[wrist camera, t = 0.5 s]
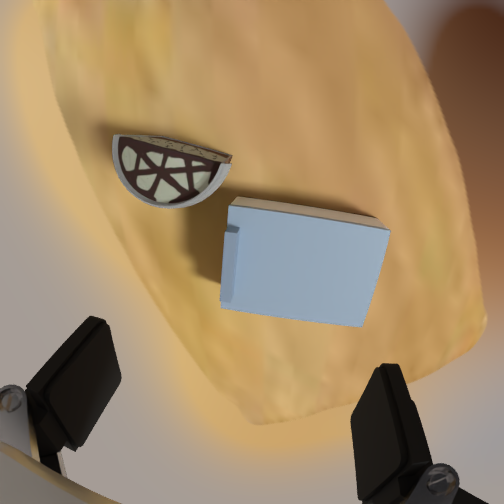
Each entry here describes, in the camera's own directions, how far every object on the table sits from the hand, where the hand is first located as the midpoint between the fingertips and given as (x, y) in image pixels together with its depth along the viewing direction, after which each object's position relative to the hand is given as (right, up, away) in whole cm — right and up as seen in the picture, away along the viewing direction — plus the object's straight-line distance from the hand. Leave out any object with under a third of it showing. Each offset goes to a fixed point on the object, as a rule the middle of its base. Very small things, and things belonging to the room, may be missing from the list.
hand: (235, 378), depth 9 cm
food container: (-7, +14, +26) cm, 30 cm away
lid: (+6, +2, +23) cm, 24 cm away
